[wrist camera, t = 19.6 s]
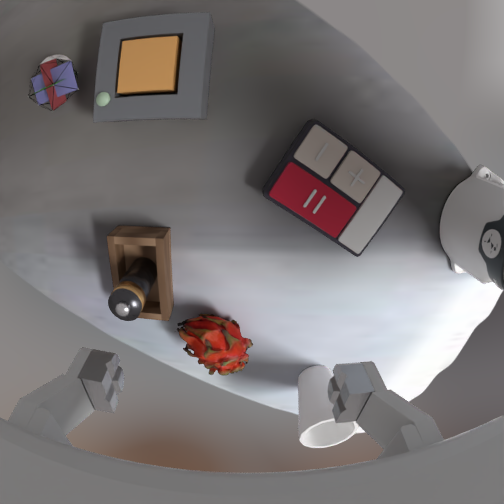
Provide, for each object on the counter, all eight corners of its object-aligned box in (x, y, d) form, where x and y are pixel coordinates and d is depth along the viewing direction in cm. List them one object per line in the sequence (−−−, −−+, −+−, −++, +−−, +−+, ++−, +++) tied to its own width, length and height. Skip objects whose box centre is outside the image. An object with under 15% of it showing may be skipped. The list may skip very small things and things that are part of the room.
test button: (182, 43, 26) (177, 36, 23) (178, 92, 28) (172, 89, 26) (131, 47, 26) (122, 41, 23) (127, 95, 28) (117, 92, 25)
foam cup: (339, 353, 49) (360, 411, 37) (340, 385, 52) (357, 438, 40) (285, 366, 49) (296, 426, 37) (292, 396, 53) (302, 452, 41)
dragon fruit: (248, 344, 49) (188, 303, 47) (274, 335, 42) (205, 286, 40) (224, 387, 44) (160, 345, 42) (248, 386, 37) (171, 337, 35)
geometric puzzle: (82, 113, 30) (52, 73, 22) (41, 128, 30) (9, 95, 22) (93, 76, 31) (70, 37, 23) (54, 90, 31) (29, 56, 23)
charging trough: (170, 227, 38) (163, 238, 35) (173, 304, 43) (168, 320, 39) (118, 225, 38) (106, 236, 34) (126, 300, 43) (118, 315, 39)
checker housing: (214, 28, 28) (210, 11, 22) (206, 119, 33) (199, 118, 27) (121, 35, 27) (101, 22, 22) (114, 121, 32) (91, 122, 26)
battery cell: (157, 257, 39) (136, 296, 30) (159, 284, 41) (141, 327, 32) (129, 255, 39) (102, 293, 30) (132, 282, 40) (108, 323, 31)
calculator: (314, 117, 30) (409, 191, 33) (307, 119, 34) (395, 185, 37) (261, 196, 34) (360, 260, 37) (260, 189, 38) (350, 248, 41)
